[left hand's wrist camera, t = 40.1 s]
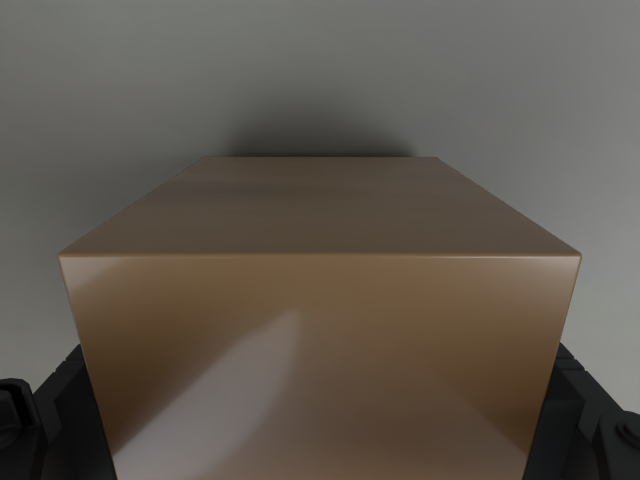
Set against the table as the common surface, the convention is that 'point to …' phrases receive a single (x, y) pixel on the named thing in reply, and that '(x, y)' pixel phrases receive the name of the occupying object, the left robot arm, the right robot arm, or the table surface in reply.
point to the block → (319, 323)
